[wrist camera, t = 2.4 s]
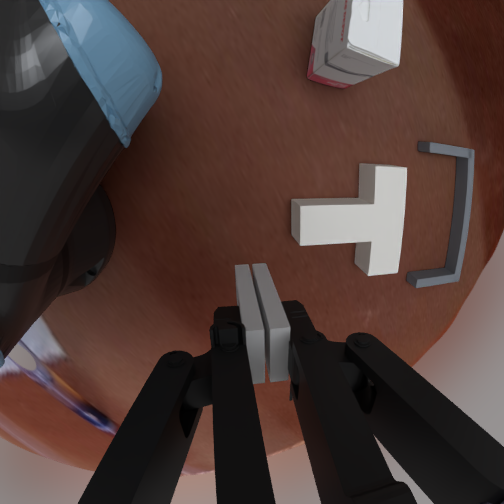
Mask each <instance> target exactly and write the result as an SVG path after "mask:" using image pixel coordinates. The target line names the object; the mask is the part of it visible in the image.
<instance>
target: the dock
mask: <svg viewBox="0 0 504 504" xmlns="http://www.w3.org/2000/svg"><path fill="white" fill-rule="evenodd" d="M418 151H422V152H430V153H437V154H445V155H451V156H457V159H456V182H455V196H454V207H453V216H452V225H451V233H450V240H449V246H448V252H447V258H446V264H445V268H438V269H430V270H422V271H414V272H408V273H407V279H406V280H407V281H408V282H409V283H410V284H411V285H413V286H414V287H415V288H419V287H426V286H432V285H438V284H444V283H450V282H456V281H459V278H460V273H461V268H462V263H463V258H464V252H465V247H466V240H467V234H468V227H469V219H470V211H471V201H472V190H473V174H474V150H472V149H467V148H461V147H456V146H450V145H444V144H438V143H432V142H418Z"/></svg>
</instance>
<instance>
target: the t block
mask: <svg viewBox="0 0 504 504" xmlns="http://www.w3.org/2000/svg"><path fill="white" fill-rule="evenodd" d="M406 181H407V168H405V167H399V166H393V165H384V164H364V163H359V197H358V198H313V199H291V235H292V236H293V237H294V239H295V240H296V241H297V242H298V244H299V245H300V246H304V245H320V244H337V243H353V242H356V249H355V261H354V263H355V264H356V265H357V266H358V267H359V268H360V269H361V270H362V271H363V272H365V273H366V274H367V275H368V276H372V275H381V274H391V273H398V267H399V259H400V252H401V243H402V234H403V224H404V213H405V199H406Z"/></svg>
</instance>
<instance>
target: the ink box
mask: <svg viewBox="0 0 504 504" xmlns="http://www.w3.org/2000/svg"><path fill="white" fill-rule="evenodd" d="M402 20H403V0H330V1H329V2H328V4H327V5H326V6H325V7H324V8H323V9H322V11H321V12H320V13H319V14H318V15H317V16H316V20H315V27H314V33H313V40H312V47H311V53H310V59H309V66H308V72H307V78H308V79H309V80H312V81H315V82H318V83H321V84H325V85H328V86H332V87H337V88H343V89H345V88H347V87H350V86H352V85H354V84H356V83H359V82H361V81H363V80H366V79H368V78H370V77H373V76H375V75H377V74H380V73H382V72H385V71H387V70H390V69H392V68H395V67H397V66H399V61H400V50H401V37H402Z"/></svg>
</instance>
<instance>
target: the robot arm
mask: <svg viewBox="0 0 504 504" xmlns="http://www.w3.org/2000/svg"><path fill="white" fill-rule="evenodd" d="M161 88H162V73H161V69H160V66H159V64H158V62H157V60H156V58H155V56H154V54H153V52H152V51H151V49H150V48H149V46H148V45H147V44H146V42H145V41H144V39H143V38H142V37H141V36H140V34H139V33H138V32H137V31H136V29H135V28H134V27H133V26H132V25H131V24H130V22H129V21H128V20H127V19H126V18H125V17H124V16H123V15H122V14H121V13H120V12H119V11H118V10H117V9H116V8H115V7H114V6H113V5H112V4H111V3H110V2H109V1H108V0H0V368H1V367H2V366H3V364H4V362H5V360H4V359H5V358H6V357H7V355H8V354H9V353H10V352H11V350H12V349H13V348H14V346H15V345H16V344H17V343H18V341H19V340H20V339H21V338H22V337H23V335H24V334H25V333H26V332H27V331H28V329H29V328H30V327H31V326H32V325H33V323H34V322H35V321H36V320H37V319H38V318H39V317H40V315H41V314H42V313H43V312H44V311H45V310H46V309H47V307H48V306H49V305H50V304H51V303H52V302H53V301H54V299H55V298H56V297H58V296H61V295H65V294H68V293H71V292H74V291H77V290H80V289H82V288H84V287H86V286H87V285H89V284H90V283H91V282H92V281H94V280H95V278H96V277H97V276H98V275H99V274H100V273H101V272H102V270H103V269H104V268H105V266H106V265H107V263H108V262H109V259H110V257H111V255H112V252H113V248H114V243H115V232H116V230H115V219H114V214H113V210H112V207H111V204H110V201H109V199H108V197H107V195H106V193H105V191H104V190H103V188H102V187H101V185H100V182H101V181H102V179H103V178H104V176H105V175H106V173H107V172H108V170H109V169H110V167H111V166H112V164H113V163H114V161H115V160H116V158H117V157H118V156H119V154H120V153H121V151H122V150H123V149H124V147H125V148H127V147H128V146H129V145H130V142H131V136H132V134H133V133H134V131H135V130H136V128H137V127H138V125H139V124H140V122H141V121H142V119H143V118H144V117H145V115H146V114H147V112H148V111H149V110H150V108H151V107H152V106H153V104H154V103H155V101H156V100H157V98H158V96H159V94H160V92H161ZM252 269H253V281H252V277H251V273H250V269H249V265H248V264H246V265H235V277H236V294H237V306H228V307H218V308H217V309H216V311H215V312H214V324H213V325H212V326H211V327H210V330H209V331H210V339H211V347H212V348H211V350H209V351H208V352H207V353H205V354H203V355H200V356H197V357H192V355H191V354H189V353H188V352H185V351H172V352H168V353H166V354H164V355H163V356H162V357H161V358H160V359H159V361H158V362H157V364H156V366H155V367H154V369H153V371H152V373H151V374H150V376H149V378H148V379H147V381H146V383H145V385H144V386H143V388H142V390H141V391H140V393H139V395H138V397H137V398H136V400H135V402H134V403H133V405H132V407H131V409H130V410H129V412H128V414H127V416H126V417H125V419H124V421H123V423H122V424H121V426H120V428H119V430H118V431H117V433H116V435H115V437H114V438H113V440H112V442H111V444H110V446H109V447H108V449H107V451H106V453H105V455H104V456H103V458H102V460H101V462H100V464H99V465H98V467H97V469H96V471H95V473H94V475H93V476H92V478H91V480H90V482H89V484H88V485H87V487H86V489H85V491H84V493H83V495H82V497H81V498H80V500H79V502H78V504H170V503H171V500H172V497H173V494H174V491H175V488H176V485H177V483H178V480H179V477H180V474H181V471H182V468H183V465H184V463H185V460H186V457H187V454H188V451H189V448H190V445H191V442H192V440H193V437H194V434H195V431H196V428H197V425H198V422H199V419H200V416H201V414H202V411H203V407H204V406H208V405H211V404H213V435H214V459H215V478H216V496H217V504H276V503H275V498H274V493H273V488H272V483H271V478H270V473H269V468H268V463H267V457H266V452H265V447H264V441H263V436H262V431H261V425H260V420H259V414H258V409H257V403H256V398H255V392H254V386H253V384H256V383H265V361H266V365H267V370H268V374H269V379H270V382H276V381H284V380H288V373H289V374H290V378H291V384H290V400H292V397H293V400H294V404H295V407H296V411H297V415H298V419H299V422H300V426H301V430H302V433H303V437H304V441H305V445H306V448H307V452H308V456H309V460H310V463H311V467H312V471H313V475H314V478H315V482H316V486H317V490H318V493H319V497H320V501H321V504H417V502H416V500H415V498H414V496H413V494H412V492H411V490H410V488H409V487H408V485H407V484H405V483H404V482H399V481H396V480H395V479H394V478H393V476H392V474H391V472H390V470H389V468H388V466H387V463H386V461H385V459H384V457H383V454H382V452H381V450H380V448H379V446H378V444H377V442H376V439H375V437H376V438H377V439H378V440H379V441H380V443H381V444H382V445H383V446H384V447H385V448H386V450H387V451H388V452H389V453H390V454H391V455H392V457H393V458H394V459H395V460H396V461H397V462H398V463H399V465H400V466H401V467H402V468H403V469H404V470H405V471H406V473H407V474H408V475H409V476H410V477H411V478H412V479H413V480H414V481H415V483H416V484H417V485H418V486H419V487H420V488H421V490H422V491H423V492H424V493H425V494H426V495H427V496H428V497H429V499H430V500H431V501H432V502H433V503H434V504H504V447H503V446H502V445H501V444H500V443H499V442H497V441H496V440H495V439H494V438H493V437H492V436H491V435H489V434H488V433H487V432H486V431H485V430H484V429H482V428H481V427H480V426H479V425H478V424H477V423H476V422H474V421H473V420H472V419H471V418H470V417H468V415H466V414H465V413H464V412H463V411H462V410H461V409H460V408H458V407H457V406H456V405H455V404H454V403H453V402H451V401H450V400H449V399H448V398H447V397H446V396H444V395H443V394H442V393H441V392H440V391H439V390H437V389H436V388H435V387H434V386H433V385H431V384H430V383H429V382H428V381H427V380H426V379H424V378H423V377H422V376H421V375H420V374H419V373H417V372H416V371H415V370H414V369H413V368H411V367H410V366H409V365H408V364H407V363H406V362H404V361H403V360H402V359H401V358H400V357H398V356H397V355H396V354H395V353H394V352H392V351H391V350H390V349H389V348H388V347H386V346H385V345H384V344H383V343H382V342H381V341H379V340H378V339H377V338H376V337H374V336H373V335H371V334H367V333H360V332H358V333H353V334H351V335H349V336H348V337H347V339H346V343H345V342H332V341H328V340H327V339H326V337H325V336H324V334H323V333H321V332H319V331H316V330H315V328H314V326H313V324H312V322H311V320H310V318H309V317H308V314H307V312H306V310H305V308H304V306H303V305H302V304H301V303H300V302H298V301H297V300H293V301H282V302H281V301H280V299H279V296H278V293H277V291H276V288H275V286H274V283H273V280H272V278H271V275H270V273H269V270H268V267H267V265H266V263H260V264H252ZM370 380H371V381H372V382H373V383H372V382H371V381H370ZM373 434H374V435H373ZM374 436H375V437H374Z"/></svg>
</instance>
